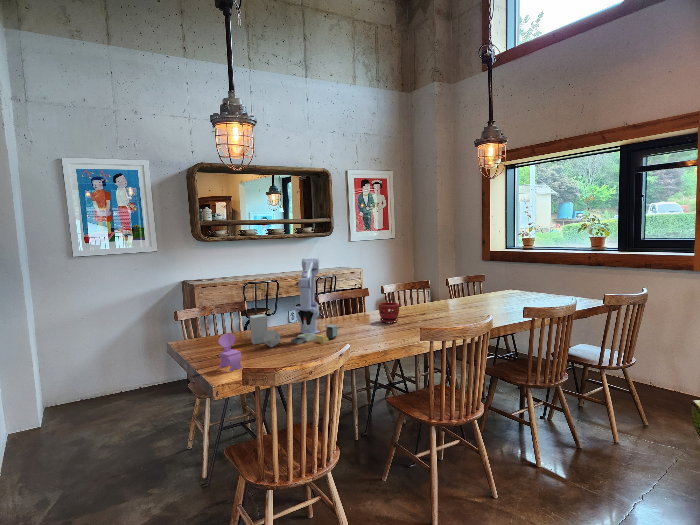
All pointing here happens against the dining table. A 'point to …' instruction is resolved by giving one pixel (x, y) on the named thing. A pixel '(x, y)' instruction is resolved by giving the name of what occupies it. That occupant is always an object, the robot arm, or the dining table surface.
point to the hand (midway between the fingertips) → (306, 324)
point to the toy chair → (229, 353)
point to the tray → (307, 337)
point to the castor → (331, 331)
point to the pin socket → (297, 340)
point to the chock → (321, 338)
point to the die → (271, 338)
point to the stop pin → (305, 324)
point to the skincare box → (258, 328)
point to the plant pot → (389, 315)
